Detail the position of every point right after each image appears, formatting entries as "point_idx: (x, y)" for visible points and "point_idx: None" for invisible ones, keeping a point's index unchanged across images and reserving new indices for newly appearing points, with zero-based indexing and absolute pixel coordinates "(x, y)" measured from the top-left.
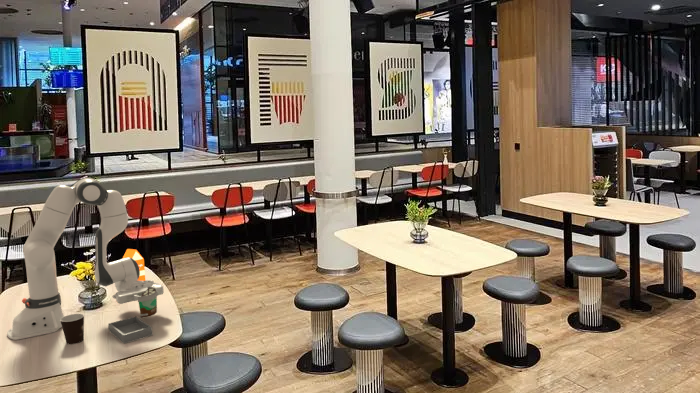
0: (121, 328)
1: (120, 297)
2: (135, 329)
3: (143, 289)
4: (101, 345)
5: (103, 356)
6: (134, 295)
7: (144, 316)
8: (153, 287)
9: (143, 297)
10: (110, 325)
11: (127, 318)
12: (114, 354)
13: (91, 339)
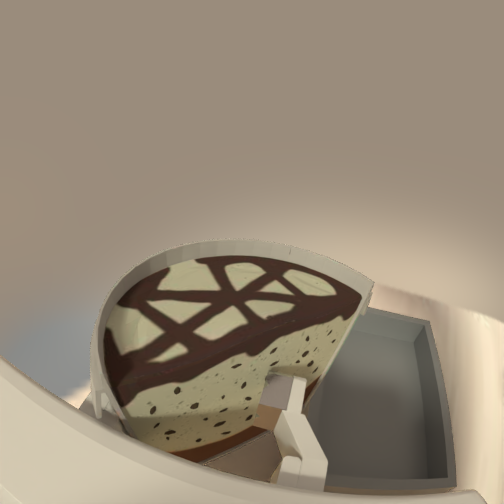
0: (391, 461)
1: (471, 490)
2: (349, 395)
3: (99, 495)
4: (471, 387)
5: (466, 322)
6: (321, 464)
7: None
8: (108, 296)
9: (331, 270)
10: (454, 454)
11: (354, 486)
12: (444, 311)
13: (492, 463)
